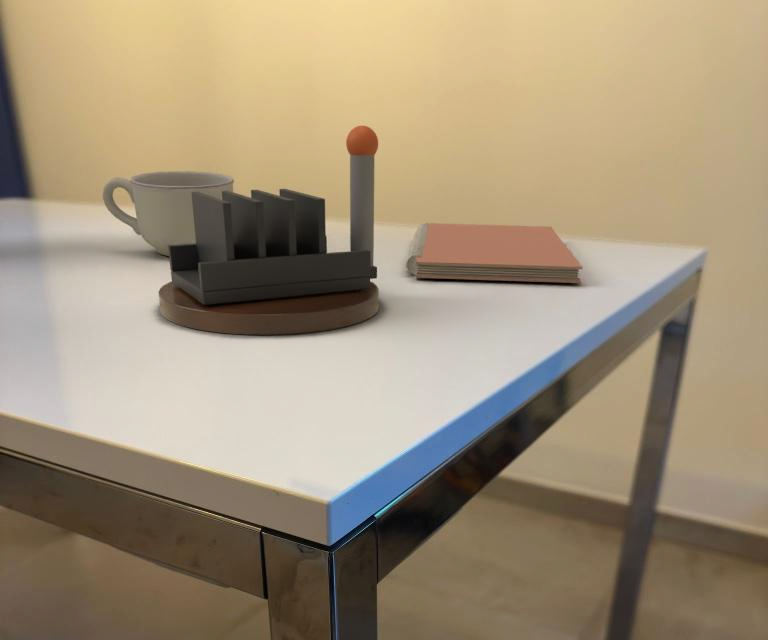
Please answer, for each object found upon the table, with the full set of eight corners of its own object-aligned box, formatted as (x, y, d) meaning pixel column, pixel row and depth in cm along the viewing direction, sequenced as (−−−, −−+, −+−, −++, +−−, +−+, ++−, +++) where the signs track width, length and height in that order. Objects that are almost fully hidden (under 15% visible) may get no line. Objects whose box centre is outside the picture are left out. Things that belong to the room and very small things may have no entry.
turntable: (112, 311, 63) (110, 292, 62) (261, 276, 76) (260, 260, 76) (285, 348, 54) (284, 327, 54) (418, 301, 68) (419, 284, 67)
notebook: (416, 237, 100) (416, 220, 99) (549, 241, 99) (551, 224, 98) (404, 279, 76) (405, 258, 75) (579, 285, 75) (582, 263, 74)
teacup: (251, 247, 91) (247, 172, 87) (218, 264, 81) (211, 181, 77) (139, 242, 93) (130, 168, 89) (93, 258, 83) (81, 176, 79)
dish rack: (203, 305, 58) (187, 127, 52) (171, 282, 65) (154, 123, 59) (400, 286, 65) (404, 127, 60) (352, 267, 72) (351, 123, 67)
